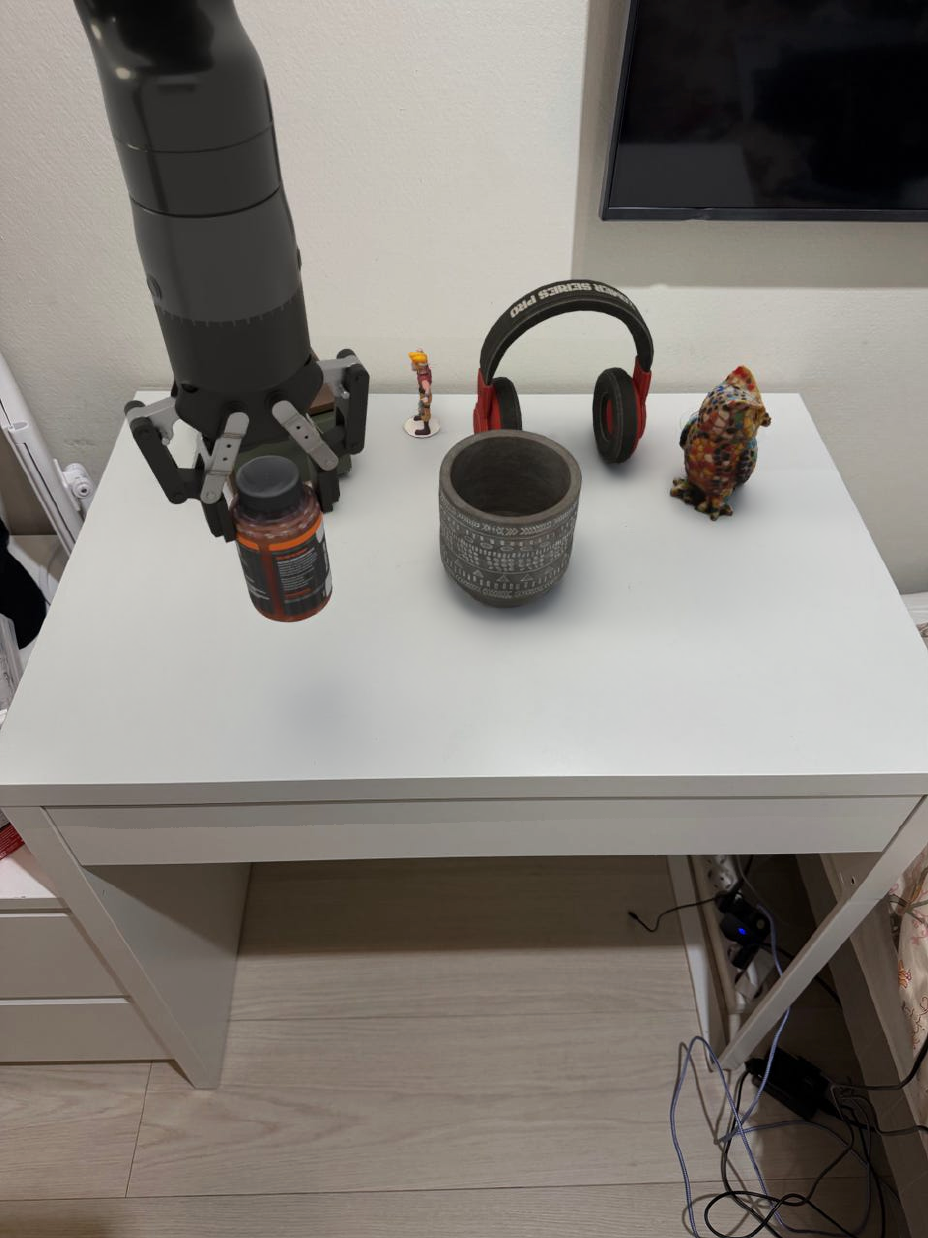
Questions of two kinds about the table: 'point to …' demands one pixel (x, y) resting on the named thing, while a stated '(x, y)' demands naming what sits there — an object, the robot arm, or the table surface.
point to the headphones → (615, 389)
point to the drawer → (294, 450)
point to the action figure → (422, 398)
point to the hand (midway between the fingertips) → (276, 518)
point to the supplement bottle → (280, 540)
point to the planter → (507, 515)
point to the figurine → (721, 444)
